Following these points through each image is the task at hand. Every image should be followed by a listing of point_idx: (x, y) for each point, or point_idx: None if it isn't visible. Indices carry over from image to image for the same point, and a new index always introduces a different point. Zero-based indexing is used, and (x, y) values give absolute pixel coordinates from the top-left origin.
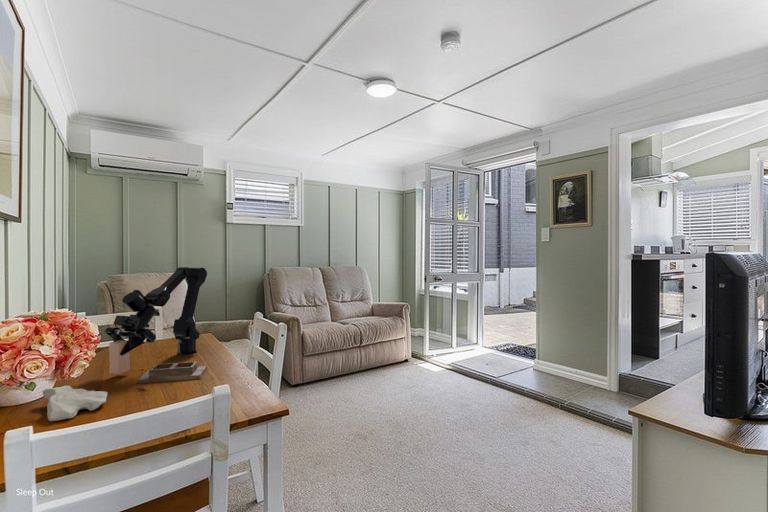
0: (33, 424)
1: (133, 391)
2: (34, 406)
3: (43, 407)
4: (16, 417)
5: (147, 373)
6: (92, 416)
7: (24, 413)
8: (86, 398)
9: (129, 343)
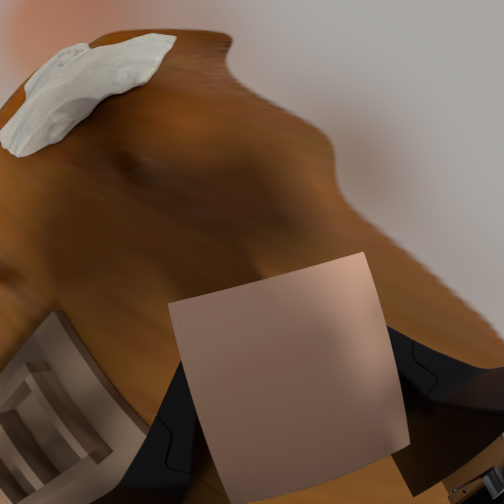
0: None
1: (13, 248)
2: (181, 56)
3: None
4: None
5: (104, 406)
6: (3, 122)
7: None
8: (25, 104)
9: (142, 448)
